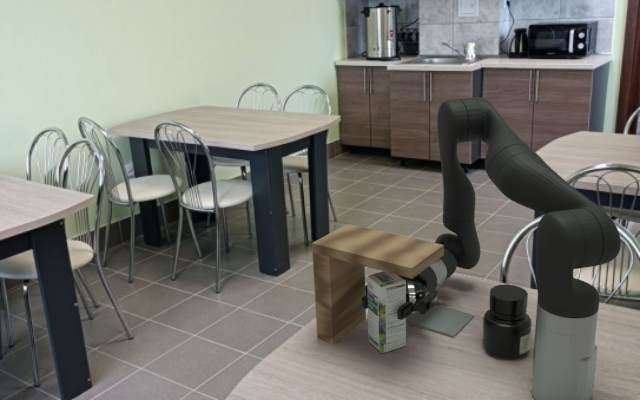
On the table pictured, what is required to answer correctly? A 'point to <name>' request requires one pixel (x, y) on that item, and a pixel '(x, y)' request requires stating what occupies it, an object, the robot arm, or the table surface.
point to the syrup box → (386, 311)
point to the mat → (441, 320)
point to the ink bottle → (507, 323)
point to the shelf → (359, 272)
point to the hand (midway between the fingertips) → (381, 309)
